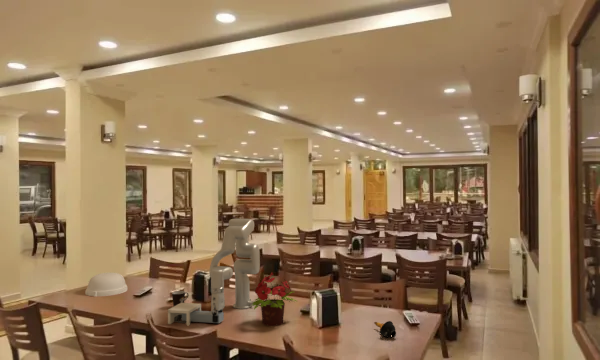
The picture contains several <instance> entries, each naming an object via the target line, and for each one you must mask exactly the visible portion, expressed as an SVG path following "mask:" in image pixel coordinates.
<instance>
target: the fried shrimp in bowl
mask: <svg viewBox="0 0 600 360" xmlns="http://www.w3.org/2000/svg"><path fill="white" fill-rule="evenodd" d="M373 324H374V325H375V326H377V327H379V334H380V333H381V334H380V335H381V336H383V337H385V338H391V339H393V338H395V337H396V336H397V332H396V327H395V325H394V323H393V321H392V320H387V321H386V322H385V323H384V322H383V323H381V322H378V321H374V323H373ZM391 335H392V337H393V338H392V337H391Z"/></svg>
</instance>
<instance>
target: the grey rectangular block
mask: <svg viewBox="0 0 600 360" xmlns="http://www.w3.org/2000/svg"><path fill="white" fill-rule="evenodd" d="M214 312H215V313H216V311H214ZM224 313H225V312H224V311H223V312H219V311H218V313H217V315H218V322H212V312H211V310H210V311H209V310H201V311H198V310H194V311H193V312H191V313H190V322H193V323H194V322H196V323H197V322H199V323H210V324H211V323H213V324H220V323H221V322H223V321H224V315H225V314H224ZM181 321H186V313H182V319H181ZM186 322H187V321H186Z"/></svg>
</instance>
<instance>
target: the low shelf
mask: <svg viewBox="0 0 600 360" xmlns="http://www.w3.org/2000/svg"><path fill="white" fill-rule="evenodd" d="M194 310H195V311H202V303H196V302H195V303H191V302H184V303H180V304H178V305H176V306H172V307H171V308H168V309H167V325H171V324H173V323H174V322H175V323H176V322H178V324H186V326H190V325H191V321H190V313H191V312H193V311H194ZM182 313H186V321H182Z"/></svg>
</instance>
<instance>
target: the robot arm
mask: <svg viewBox="0 0 600 360" xmlns="http://www.w3.org/2000/svg"><path fill="white" fill-rule="evenodd" d="M254 228H255V221H254V220H253V219H251V218H232V219H229V220H228V226H227V227H226V228H225V230H224V234H223V238H222V244H221V248H220V250H219V251H218V252H217V253H216V254H215V255H214V256H213V257H212V259H211V262H210V266H209V273H208V274H209V276H210V293H211V297H210V298H211V301H210V302H211V303H210V305H211V309H210V311H211V312H212V322H218V315H217V313H218V312H224V308H225V305H226V304H225V303H226V300H225V280H230V279H231V278H232V277H233V275H234V278H235V279H234V280H235V281H234V283H235V286H234V288H235V294H234V295H235V296H234V297H235V300H234V301H235V302H234V303H233V304H232V307H233V308H234V309H239V310H245V309H250V308H251V307H253V306H252V305H254V304H253V302H255V300H253V301H252V299H251V298H250V293H251V292H250V277H249V275H257V274H259V272H260V268H261V261H260V260H261V258H260V257H261V256H260V254H261V253H260V247H259V245H258V244H256V243H252V242H251V243H249V236H250V234H252V232H253V231H254ZM234 253H235V255H236V256H237V257H238V259H236V260H235V261H234V262H233V268H232V267H230V266H221V265H219V263H220V261H221V260H222V259H223V258H225V257H228V256H229V255H232V254H234ZM243 258H244V259H243ZM248 258H249V259H248ZM215 312H216V313H215Z"/></svg>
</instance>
